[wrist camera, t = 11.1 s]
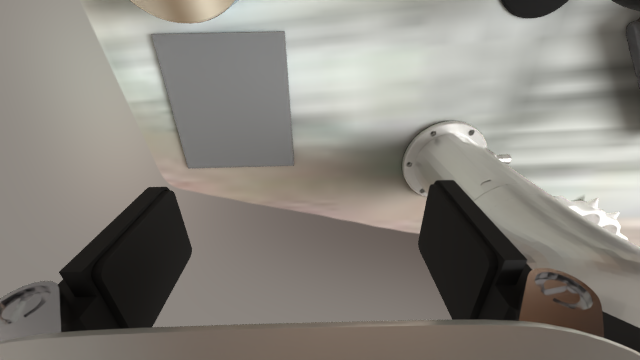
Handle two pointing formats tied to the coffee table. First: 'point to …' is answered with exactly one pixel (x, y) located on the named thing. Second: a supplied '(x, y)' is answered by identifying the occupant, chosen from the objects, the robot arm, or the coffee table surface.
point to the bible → (634, 45)
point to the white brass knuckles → (594, 214)
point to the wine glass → (550, 6)
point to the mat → (229, 97)
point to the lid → (184, 9)
